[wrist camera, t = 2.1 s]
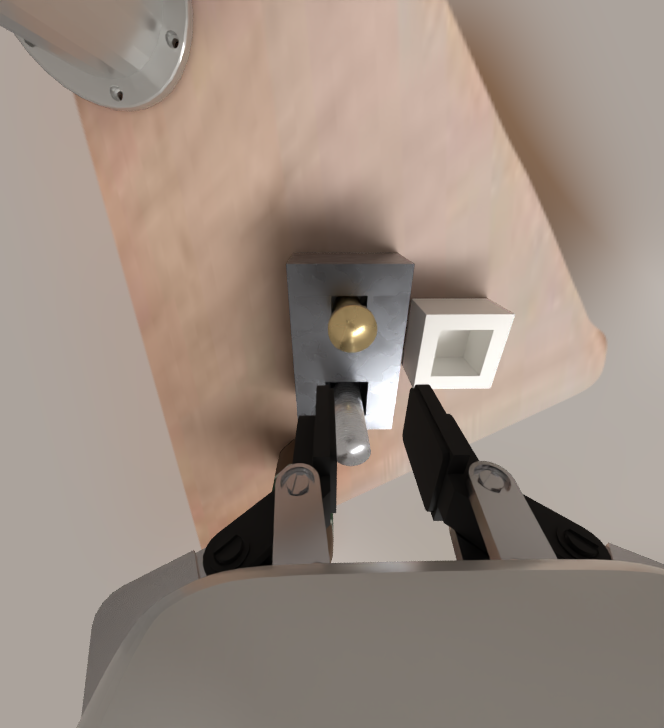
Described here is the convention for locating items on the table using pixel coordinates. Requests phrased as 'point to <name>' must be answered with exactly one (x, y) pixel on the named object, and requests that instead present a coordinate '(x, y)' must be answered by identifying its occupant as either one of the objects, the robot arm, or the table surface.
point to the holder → (455, 342)
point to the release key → (351, 325)
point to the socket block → (311, 316)
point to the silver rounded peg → (350, 424)
